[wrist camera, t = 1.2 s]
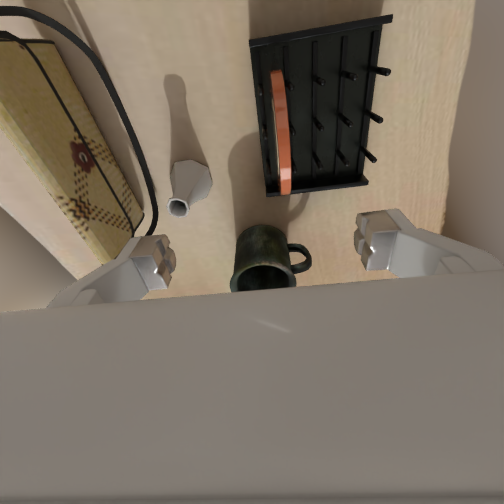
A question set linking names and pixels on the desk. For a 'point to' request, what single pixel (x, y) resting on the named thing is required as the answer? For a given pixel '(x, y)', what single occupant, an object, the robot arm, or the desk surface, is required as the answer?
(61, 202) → the clutch purse
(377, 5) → the desk surface
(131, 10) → the desk surface
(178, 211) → the flask
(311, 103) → the rack
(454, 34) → the desk surface
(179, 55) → the desk surface
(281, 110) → the plate
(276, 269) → the mug
